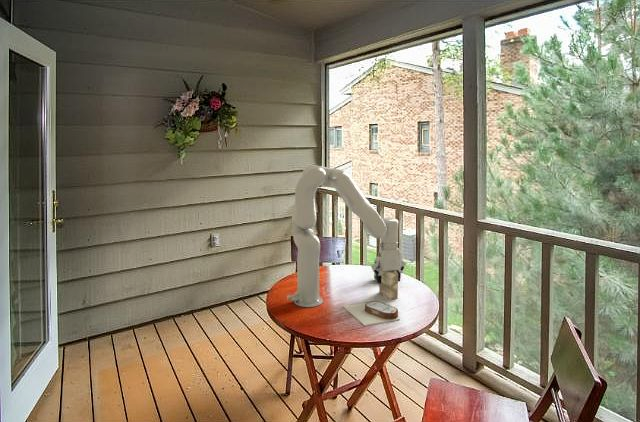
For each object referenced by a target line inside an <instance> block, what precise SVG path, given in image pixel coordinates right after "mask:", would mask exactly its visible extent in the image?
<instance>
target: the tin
mask: <svg viewBox="0 0 640 422" xmlns="http://www.w3.org/2000/svg"><path fill="white" fill-rule="evenodd" d="M365 303H366V304H365V312H367V313H369V314H372V315H374V316H377V317H380V318H382V319H395V318H397V317H398V318H399V309H398V308H397V307H395V306H393V305H390V304H387V303H384V302H381V301H377V300H376V301H373V300H372V301H369V303H368V302H365Z"/></svg>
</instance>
